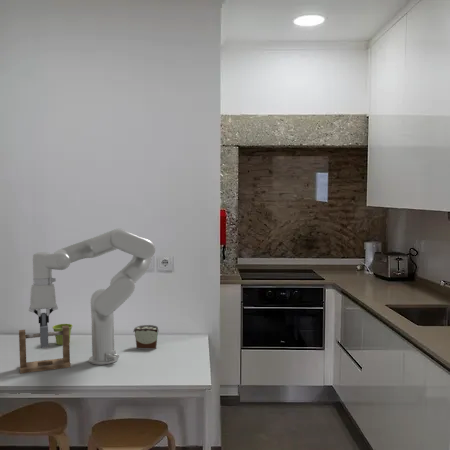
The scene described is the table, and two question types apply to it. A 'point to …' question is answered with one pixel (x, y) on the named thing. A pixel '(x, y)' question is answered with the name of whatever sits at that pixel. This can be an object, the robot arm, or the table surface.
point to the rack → (36, 365)
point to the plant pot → (59, 328)
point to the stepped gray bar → (44, 332)
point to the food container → (146, 336)
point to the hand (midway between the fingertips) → (43, 324)
